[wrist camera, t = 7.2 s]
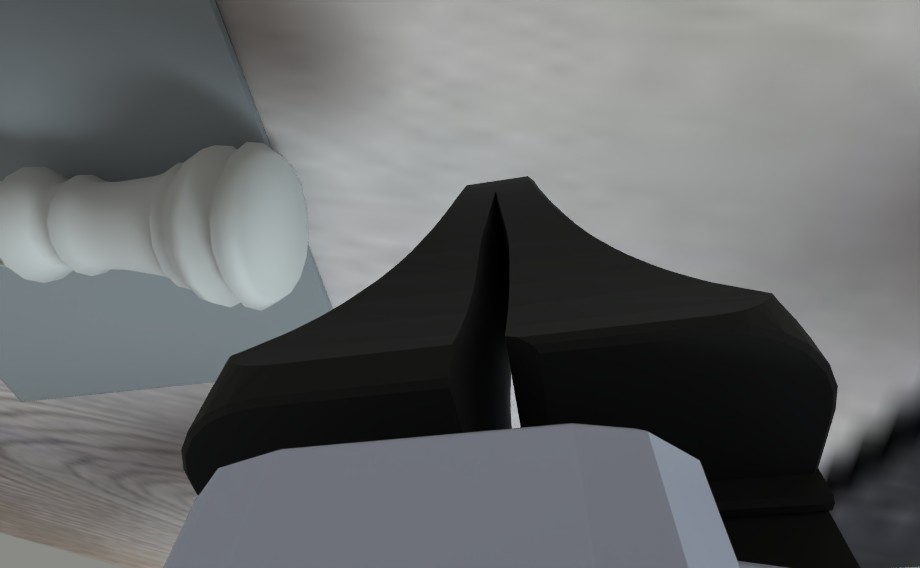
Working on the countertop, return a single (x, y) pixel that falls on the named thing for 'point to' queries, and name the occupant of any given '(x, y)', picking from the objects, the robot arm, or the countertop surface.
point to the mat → (120, 159)
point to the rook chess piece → (166, 225)
